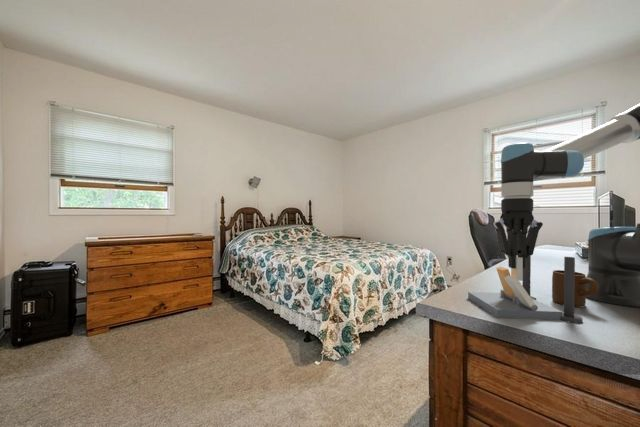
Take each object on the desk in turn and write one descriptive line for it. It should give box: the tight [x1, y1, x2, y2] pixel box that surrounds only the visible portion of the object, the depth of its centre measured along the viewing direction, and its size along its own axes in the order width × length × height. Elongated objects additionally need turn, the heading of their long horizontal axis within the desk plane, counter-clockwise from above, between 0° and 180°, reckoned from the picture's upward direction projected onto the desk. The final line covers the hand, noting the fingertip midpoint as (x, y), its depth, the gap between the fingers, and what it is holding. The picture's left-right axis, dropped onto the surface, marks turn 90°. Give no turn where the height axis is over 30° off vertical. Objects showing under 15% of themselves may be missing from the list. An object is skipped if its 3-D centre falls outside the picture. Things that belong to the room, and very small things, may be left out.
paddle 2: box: [504, 275, 538, 311], centre depth 71 cm, size 2×4×9 cm
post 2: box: [559, 256, 583, 324], centre depth 70 cm, size 5×5×16 cm
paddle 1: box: [496, 266, 516, 300], centre depth 79 cm, size 2×4×9 cm, turn 176°
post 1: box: [521, 255, 537, 301], centre depth 86 cm, size 5×5×16 cm
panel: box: [467, 289, 563, 321], centre depth 78 cm, size 16×16×4 cm
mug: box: [551, 269, 599, 308], centre depth 80 cm, size 12×8×9 cm, turn 3°
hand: (516, 279), depth 78 cm, fingers closed
